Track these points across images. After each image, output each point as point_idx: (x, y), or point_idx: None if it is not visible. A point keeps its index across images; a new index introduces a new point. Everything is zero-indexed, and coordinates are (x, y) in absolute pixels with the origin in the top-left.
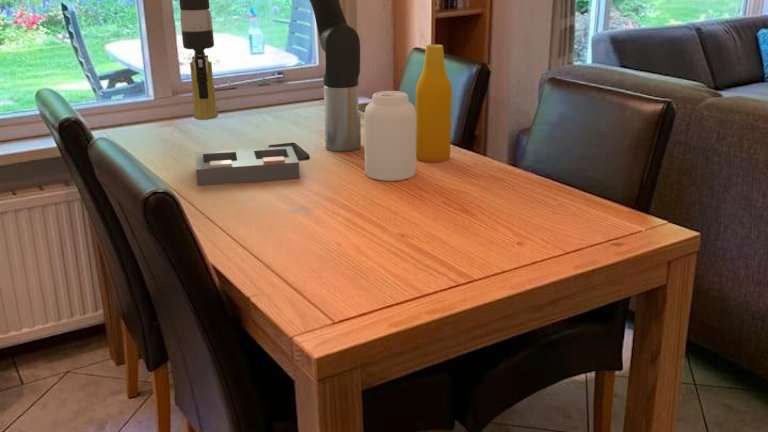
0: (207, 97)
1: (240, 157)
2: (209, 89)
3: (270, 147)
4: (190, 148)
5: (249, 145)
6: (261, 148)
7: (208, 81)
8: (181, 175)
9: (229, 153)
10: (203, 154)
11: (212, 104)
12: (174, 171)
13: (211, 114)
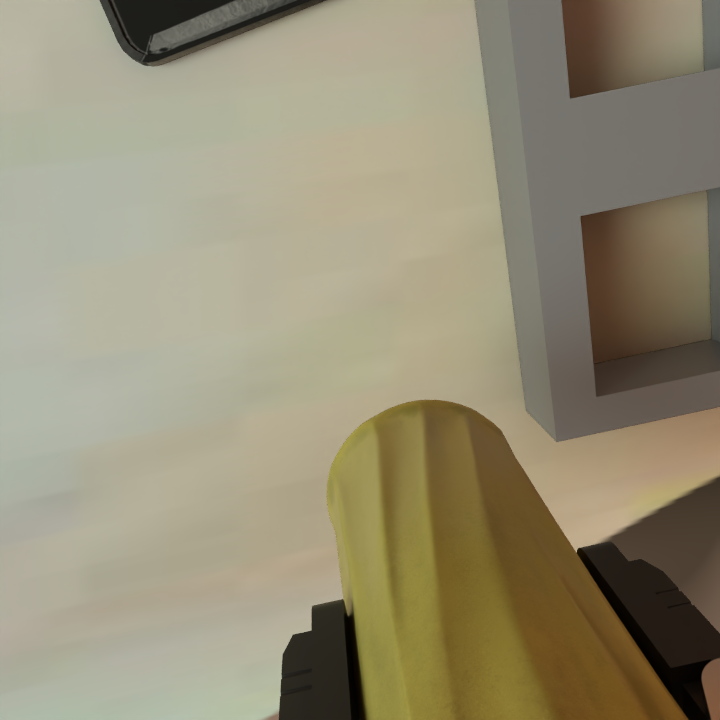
0: (614, 549)
1: (706, 167)
2: (596, 586)
3: (174, 45)
4: (168, 517)
5: (84, 203)
6: (521, 49)
7: (654, 673)
8: (634, 453)
9: (579, 253)
10: (596, 394)
11: (513, 475)
12: (568, 496)
13: (508, 447)
